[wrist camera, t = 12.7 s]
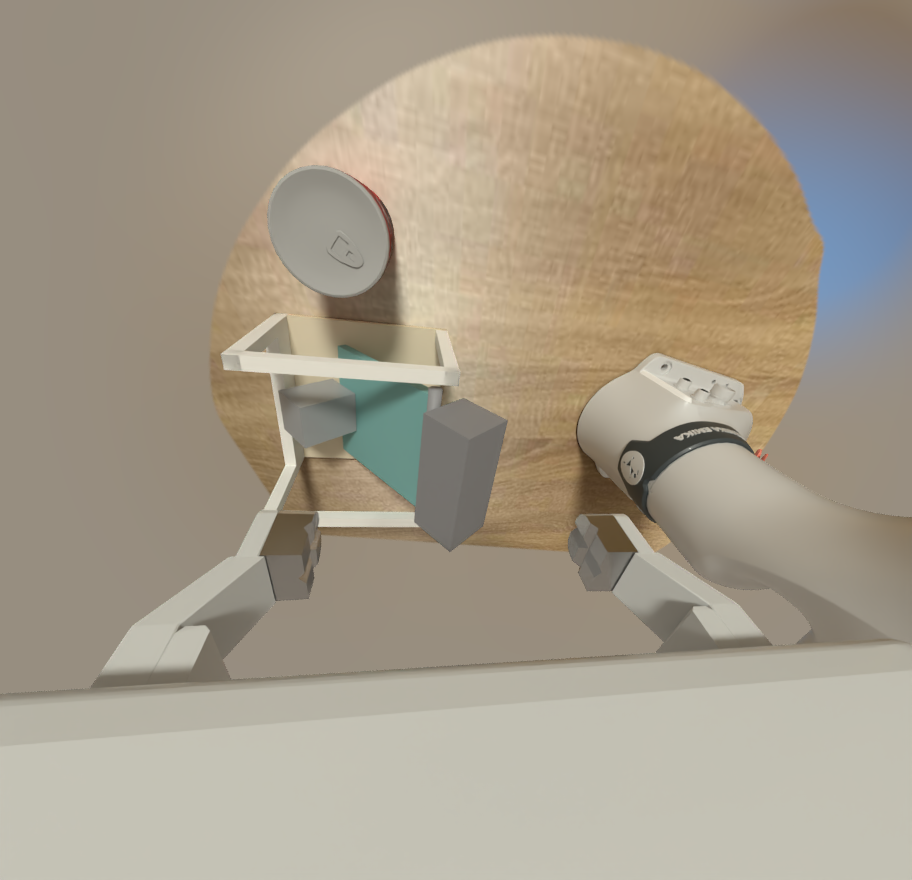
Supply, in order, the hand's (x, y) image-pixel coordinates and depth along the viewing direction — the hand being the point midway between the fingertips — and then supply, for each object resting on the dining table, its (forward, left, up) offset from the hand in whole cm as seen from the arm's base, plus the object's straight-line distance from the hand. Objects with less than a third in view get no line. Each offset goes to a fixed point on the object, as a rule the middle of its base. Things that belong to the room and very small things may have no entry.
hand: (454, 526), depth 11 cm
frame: (+6, +11, -31) cm, 34 cm away
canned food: (+7, -6, -31) cm, 33 cm away
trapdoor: (0, +11, -24) cm, 26 cm away
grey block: (+8, +11, -29) cm, 32 cm away
